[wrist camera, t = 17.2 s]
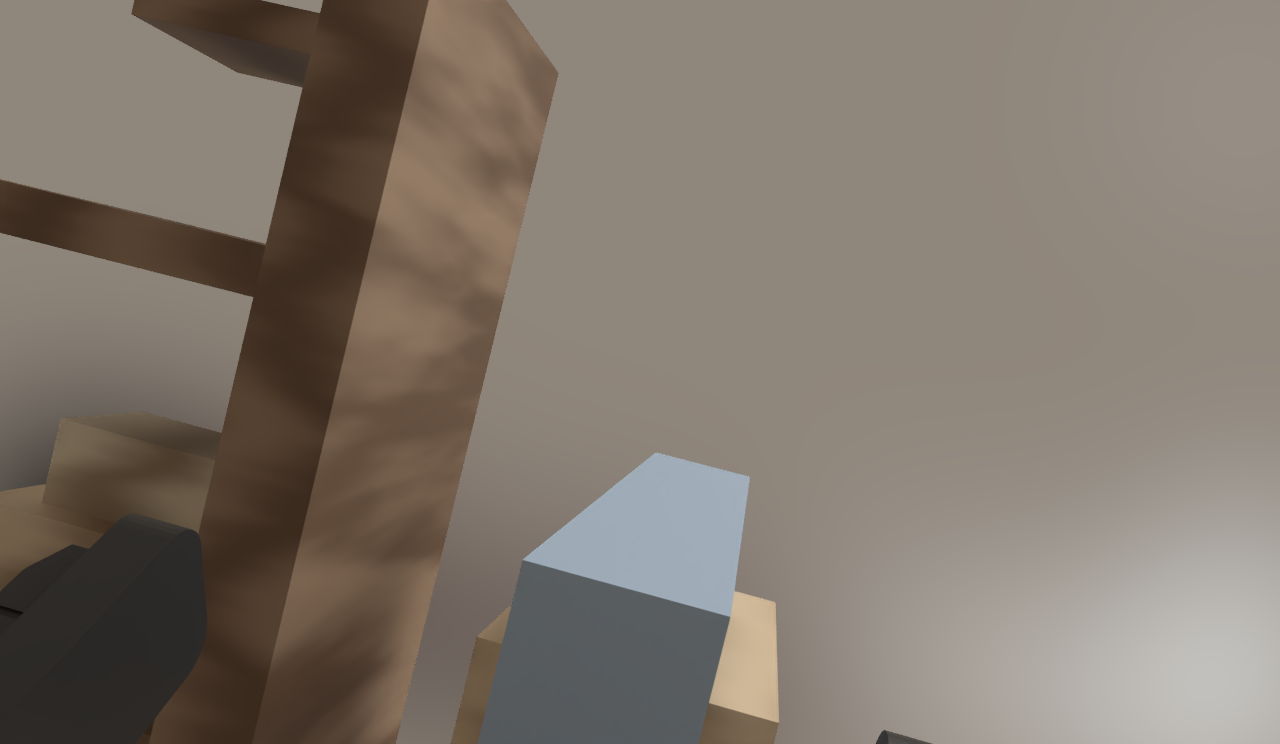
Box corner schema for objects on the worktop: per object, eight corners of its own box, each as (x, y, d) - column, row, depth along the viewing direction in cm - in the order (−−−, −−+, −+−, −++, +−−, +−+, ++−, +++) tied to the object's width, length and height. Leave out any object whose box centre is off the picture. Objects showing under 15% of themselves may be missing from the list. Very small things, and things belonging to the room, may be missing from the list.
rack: (-294, 1122, 33) (-5, -175, 32) (50, 877, 49) (252, 5, 48) (125, 1276, 32) (447, -81, 30) (340, 971, 48) (558, 73, 46)
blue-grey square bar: (472, 764, 21) (523, 560, 20) (632, 545, 45) (655, 452, 45) (677, 825, 20) (730, 617, 20) (726, 570, 45) (749, 477, 45)
